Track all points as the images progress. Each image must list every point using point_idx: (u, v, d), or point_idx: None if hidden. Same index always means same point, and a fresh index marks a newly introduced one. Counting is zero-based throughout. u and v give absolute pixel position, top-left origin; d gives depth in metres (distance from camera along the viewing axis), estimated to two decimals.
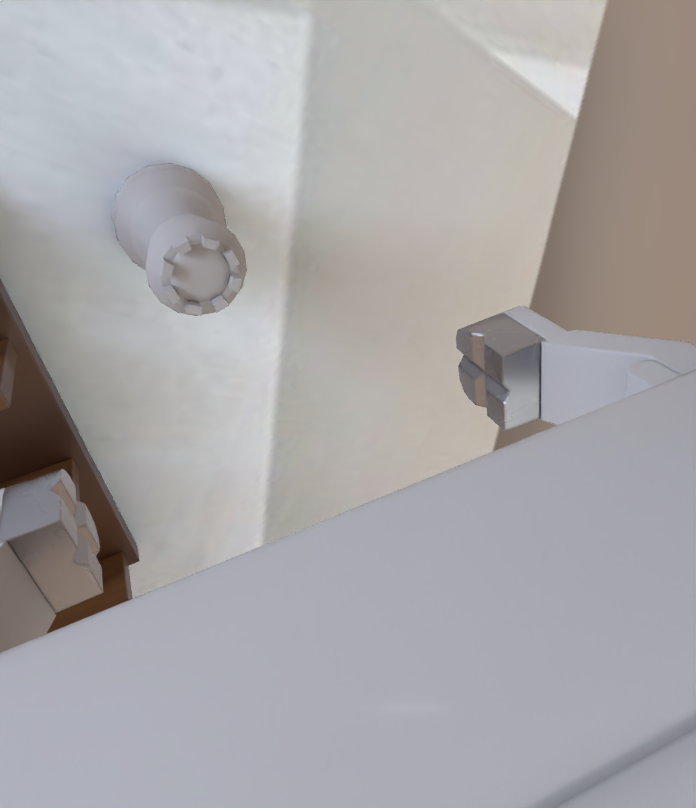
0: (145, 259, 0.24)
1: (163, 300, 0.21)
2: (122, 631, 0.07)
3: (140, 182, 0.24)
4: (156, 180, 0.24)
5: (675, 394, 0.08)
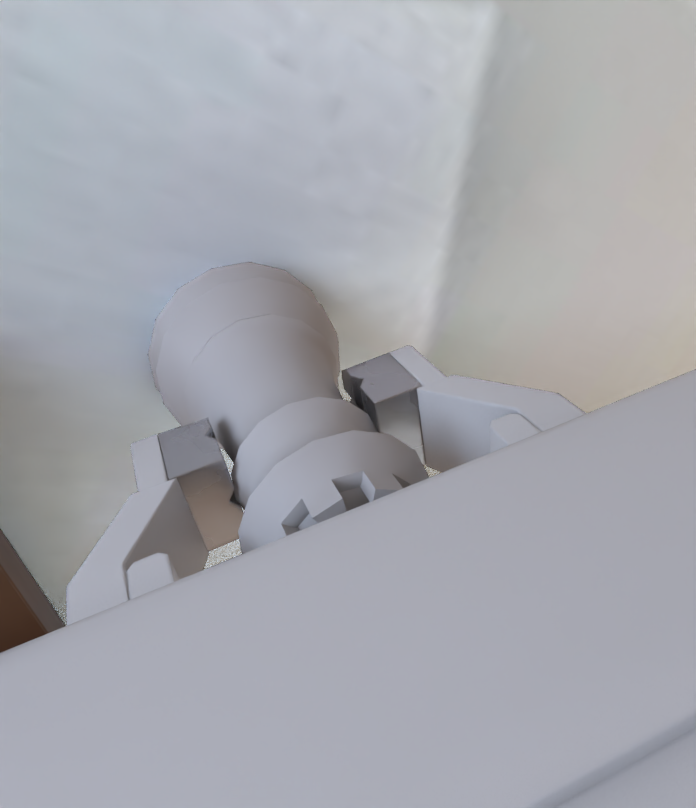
0: None
1: None
2: (122, 631, 0.07)
3: (203, 305, 0.13)
4: (232, 302, 0.13)
5: (675, 394, 0.08)
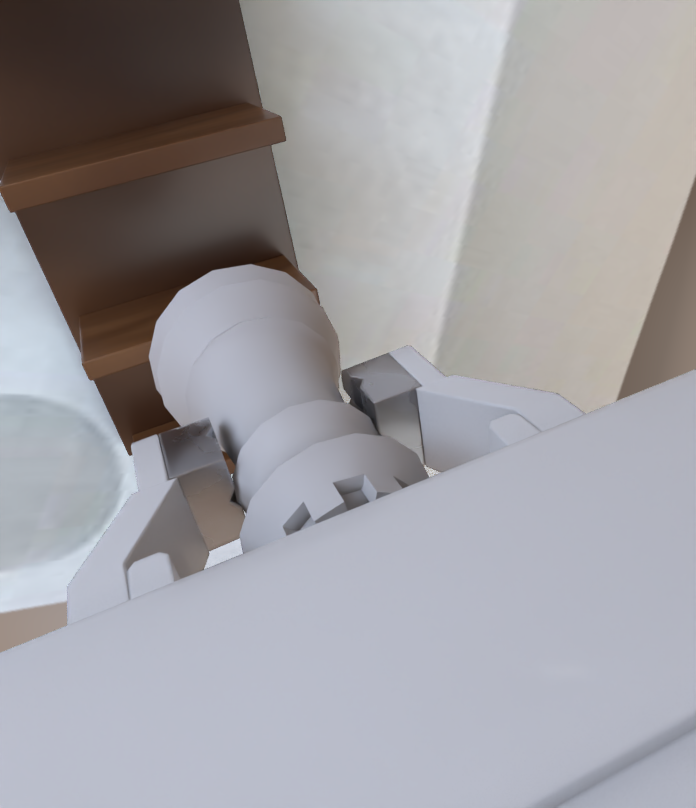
0: None
1: None
2: (122, 631, 0.07)
3: (204, 307, 0.13)
4: (233, 304, 0.13)
5: (675, 394, 0.08)
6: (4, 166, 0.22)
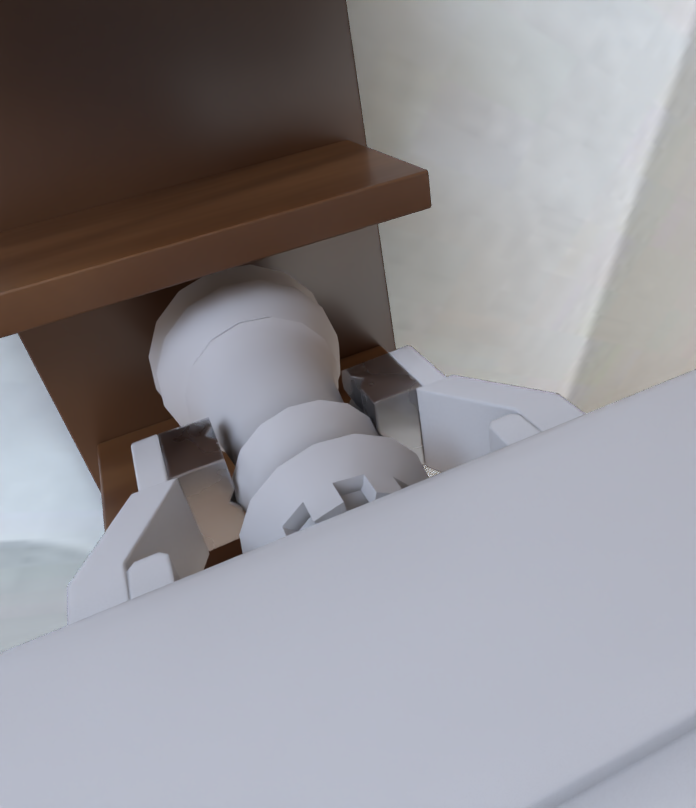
0: None
1: None
2: (122, 631, 0.07)
3: (204, 307, 0.13)
4: (233, 304, 0.13)
5: (675, 394, 0.08)
6: None
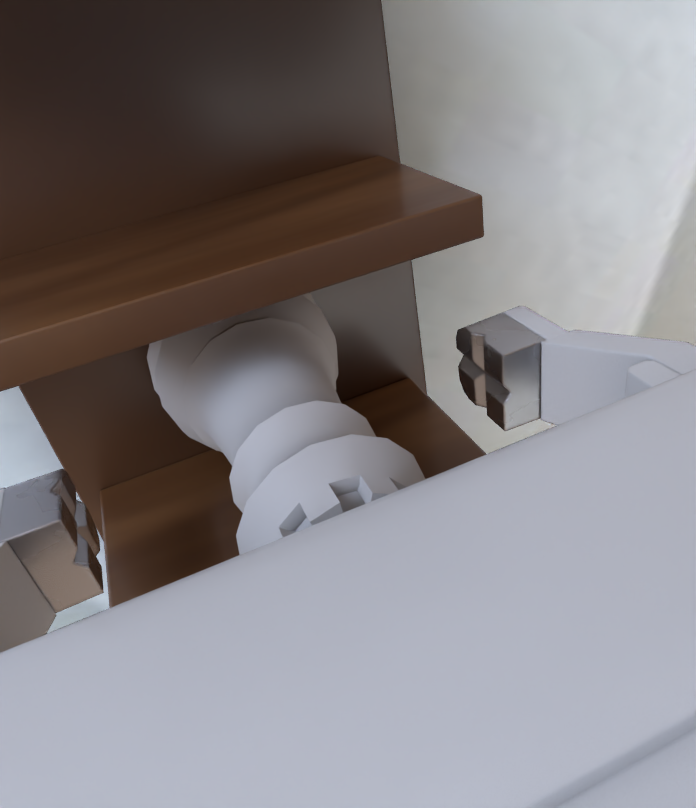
0: (208, 439, 0.14)
1: None
2: (122, 631, 0.07)
3: None
4: None
5: (675, 394, 0.08)
6: None
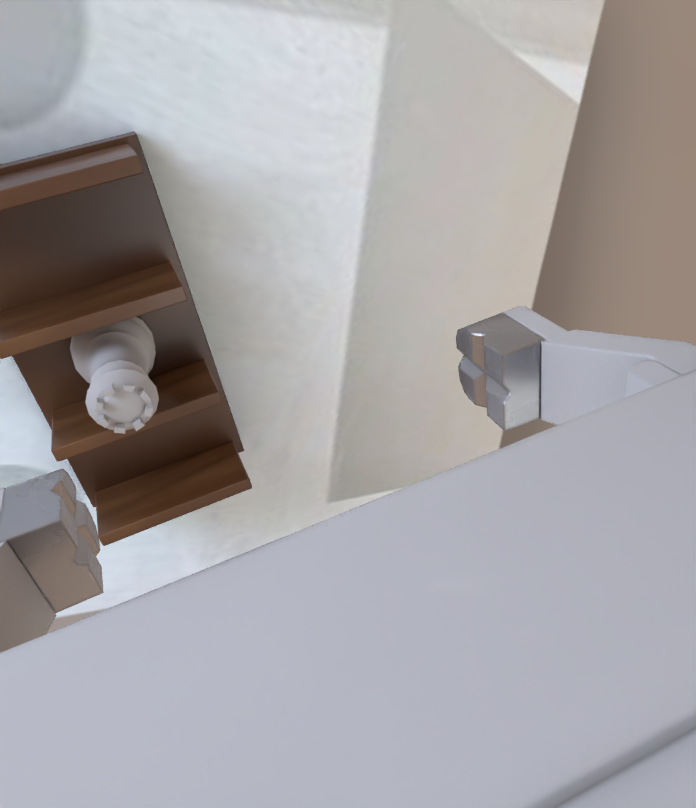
0: None
1: (99, 423, 0.30)
2: (122, 631, 0.07)
3: None
4: None
5: (675, 394, 0.08)
6: None
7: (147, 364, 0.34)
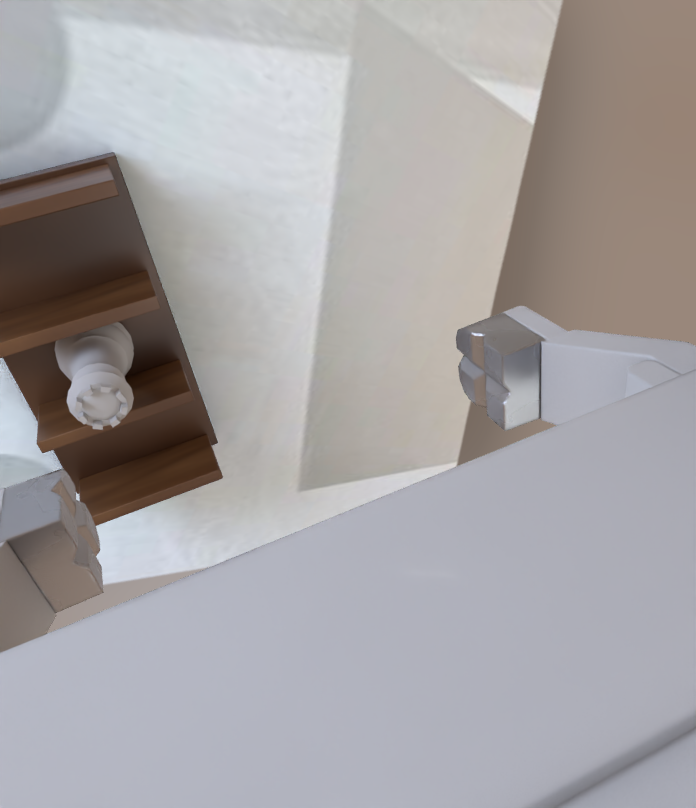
0: None
1: (79, 419, 0.33)
2: (122, 631, 0.07)
3: None
4: None
5: (675, 394, 0.08)
6: None
7: (125, 365, 0.37)
